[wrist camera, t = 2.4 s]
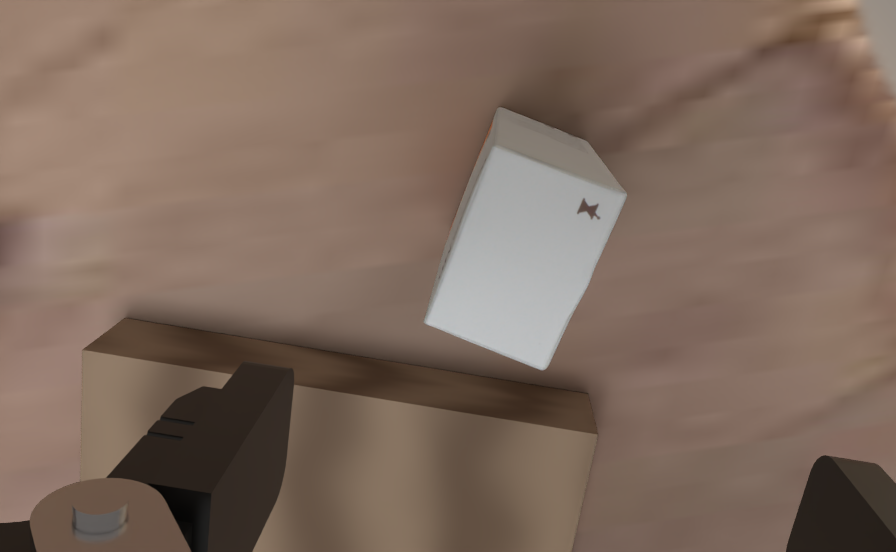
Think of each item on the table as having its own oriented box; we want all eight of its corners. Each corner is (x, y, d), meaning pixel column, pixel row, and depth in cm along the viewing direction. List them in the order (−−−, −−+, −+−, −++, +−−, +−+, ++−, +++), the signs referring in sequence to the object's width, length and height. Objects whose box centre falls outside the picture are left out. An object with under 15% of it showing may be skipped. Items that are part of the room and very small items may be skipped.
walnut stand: (587, 393, 37) (598, 434, 33) (520, 698, 42) (522, 764, 38) (125, 318, 37) (82, 349, 33) (115, 630, 43) (77, 688, 39)
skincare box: (496, 103, 33) (494, 135, 22) (589, 140, 34) (635, 192, 22) (444, 233, 35) (418, 326, 24) (533, 268, 35) (550, 376, 24)
